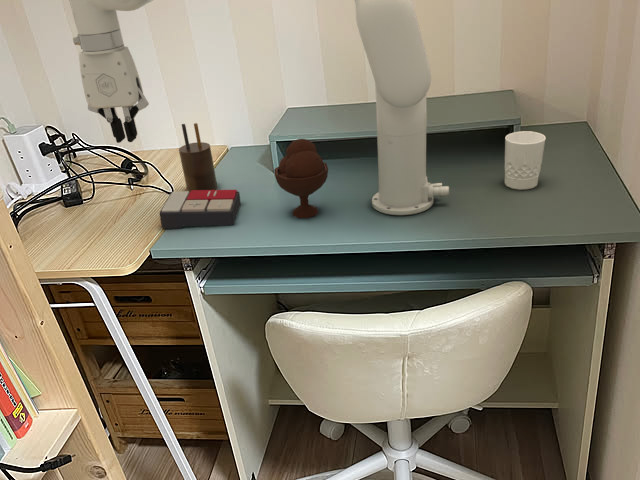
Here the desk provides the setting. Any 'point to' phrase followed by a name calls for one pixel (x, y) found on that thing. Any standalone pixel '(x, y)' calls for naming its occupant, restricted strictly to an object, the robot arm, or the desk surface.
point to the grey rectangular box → (200, 208)
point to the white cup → (523, 159)
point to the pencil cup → (197, 163)
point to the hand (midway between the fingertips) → (126, 139)
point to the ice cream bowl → (302, 174)
